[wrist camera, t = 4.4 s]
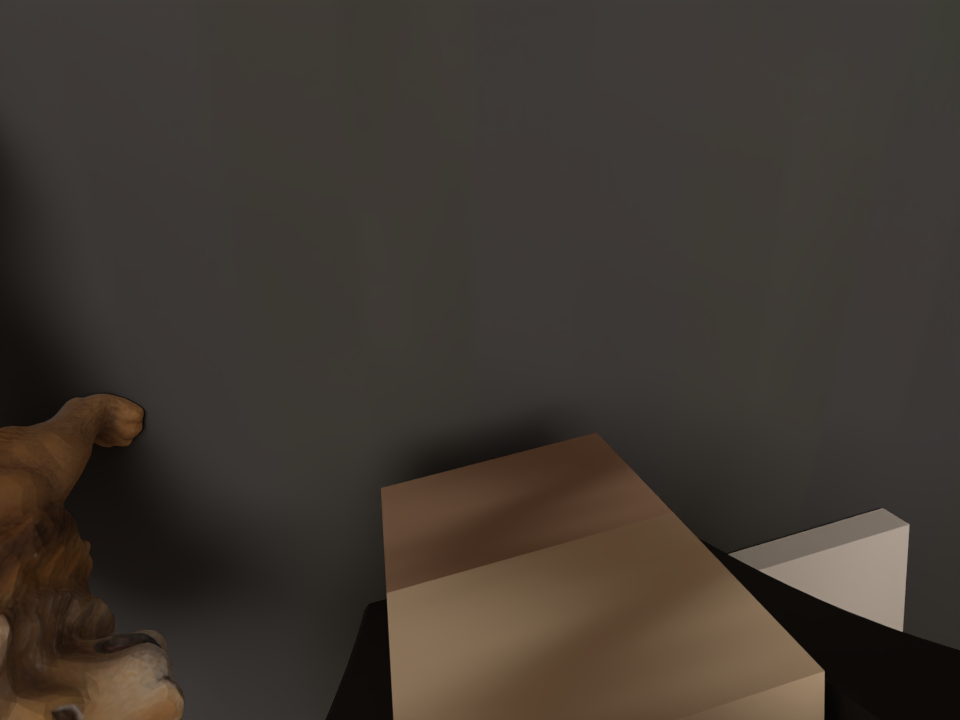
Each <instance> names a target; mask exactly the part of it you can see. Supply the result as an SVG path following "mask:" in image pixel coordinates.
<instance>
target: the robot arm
mask: <svg viewBox="0 0 960 720" xmlns="http://www.w3.org/2000/svg"><path fill="white" fill-rule="evenodd" d="M698 539H699V538H698ZM699 540H700V541H701V542H702V543H703V544H704V545H705V546H706V547H707V548H708V550H709V551H710V552H711V553H712V554H713V555H714V556H715V557H716V558H717V559H718V560H719V561H720V562H721V563H722V564H723V565H724V566H725V567H726V568H727V569H728V570H729V571H730V573H731V574H732V575H733V576H734V577H735V578H736V579H737V580H738V581H739V582H740V583H741V584H742V585H743V586H744V587H745V588H746V589H747V590H748V591H749V592H750V593H751V594H752V596H753V597H754V598H755V599H756V600H757V601H758V602H759V603H760V604H761V605H762V606H763V607H764V608H765V609H766V610H767V611H768V612H769V613H770V614H771V615H772V616H773V618H774V619H775V620H776V621H777V622H778V623H779V624H780V625H781V626H782V627H783V628H784V629H785V630H786V631H787V632H788V633H789V634H790V635H791V636H792V637H793V638H794V639H795V641H796V642H797V643H798V644H799V645H800V646H801V647H802V648H803V649H804V650H805V651H806V652H807V653H808V654H809V655H810V656H811V657H812V658H813V659H814V660H815V661H816V662H817V664H818V665H819V666H820V667H821V668H822V669H823V670H824V671H825V693H824V720H960V650H957V649H953V648H950V647H947V646H944V645H941V644H938V643H934V642H931V641H928V640H925V639H922V638H919V637H916V636H913V635H910V634H907V633H904V632H901V631H898V630H896V629H893V628H890V627H887V626H885V625H882V624H880V623H877V622H874V621H872V620H869V619H867V618H864V617H861V616H859V615H856V614H854V613H851V612H848V611H846V610H843V609H841V608H839V607H836V606H834V605H831V604H829V603H827V602H824V601H822V600H820V599H818V598H816V597H813V596H811V595H809V594H807V593H805V592H802V591H800V590H798V589H796V588H794V587H791V586H789V585H787V584H785V583H783V582H781V581H779V580H777V579H775V578H773V577H771V576H769V575H767V574H765V573H763V572H761V571H759V570H757V569H755V568H753V567H751V566H749V565H747V564H745V563H743V562H741V561H739V560H738V559H736V558H734V557H732V556H730V555H728V554H726V553H725V552H723V551H721V550H719V549H717V548H715V547H714V546H712V545H710V544H708V543H706V542H704V541H703V540H701V539H699ZM326 720H393V703H392V684H391V666H390V647H389V628H388V610H387V599H385V600H381V601H378V602H374V603H371V604H369V605H368V606H367V608H366V609H365V611H364V615H363V618H362V622H361V625H360V629H359V632H358V635H357V638H356V642H355V645H354V648H353V650H352V653H351V656H350V659H349V662H348V665H347V667H346V670H345V673H344V675H343V678H342V680H341V683H340V685H339V688H338V691H337V693H336V696H335V698H334V701H333V703H332V706H331V708H330V710H329V713H328V715H327V717H326Z"/></svg>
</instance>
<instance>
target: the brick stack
mask: <svg viewBox="0 0 960 720" xmlns="http://www.w3.org/2000/svg"><path fill="white" fill-rule="evenodd" d="M381 499H382V517H383V536H384V554H385V573H386V591H387V610H388V628H389V647H390V666H391V684H392V703H393V720H824V693H825V671H824V670H823V669H822V668H821V667H820V666H819V665H818V664H817V662H816V661H815V660H814V659H813V658H812V657H811V656H810V655H809V654H808V653H807V652H806V651H805V650H804V649H803V648H802V647H801V646H800V645H799V644H798V643H797V642H796V641H795V639H794V638H793V637H792V636H791V635H790V634H789V633H788V632H787V631H786V630H785V629H784V628H783V627H782V626H781V625H780V624H779V623H778V622H777V621H776V620H775V619H774V618H773V616H772V615H771V614H770V613H769V612H768V611H767V610H766V609H765V608H764V607H763V606H762V605H761V604H760V603H759V602H758V601H757V600H756V599H755V598H754V597H753V596H752V594H751V593H750V592H749V591H748V590H747V589H746V588H745V587H744V586H743V585H742V584H741V583H740V582H739V581H738V580H737V579H736V578H735V577H734V576H733V575H732V574H731V573H730V571H729V570H728V569H727V568H726V567H725V566H724V565H723V564H722V563H721V562H720V561H719V560H718V559H717V558H716V557H715V556H714V555H713V554H712V553H711V552H710V551H709V550H708V548H707V547H706V546H705V545H704V544H703V543H702V542H701V541H700V540H699V539H698V538H697V537H696V536H695V535H694V534H693V533H692V532H691V531H690V530H689V529H688V528H687V527H686V525H685V524H684V523H683V522H682V521H681V520H680V519H679V518H678V517H677V516H676V515H675V514H674V513H673V512H672V511H671V510H670V509H669V508H668V507H667V506H666V505H665V504H664V502H663V501H662V500H661V499H660V498H659V497H658V496H657V495H656V494H655V493H654V492H653V491H652V490H651V489H650V488H649V487H648V486H647V485H646V484H645V483H644V482H643V481H642V479H641V478H640V477H639V476H638V475H637V474H636V473H635V472H634V471H633V470H632V469H631V468H630V467H629V466H628V465H627V464H626V463H625V462H624V461H623V460H622V459H621V458H620V456H619V455H618V454H617V453H616V452H615V451H614V450H613V449H612V448H611V447H610V446H609V445H608V444H607V443H606V442H605V441H604V440H603V439H602V438H601V437H600V436H599V435H598V433H597V432H596V433H593V434H589V435H585V436H581V437H577V438H573V439H569V440H565V441H562V442H558V443H554V444H550V445H546V446H542V447H538V448H534V449H531V450H527V451H523V452H519V453H515V454H511V455H507V456H503V457H500V458H496V459H492V460H488V461H484V462H480V463H476V464H473V465H469V466H465V467H461V468H457V469H453V470H449V471H445V472H442V473H438V474H434V475H430V476H426V477H422V478H418V479H414V480H411V481H407V482H403V483H399V484H395V485H391V486H387V487H384V488H381Z"/></svg>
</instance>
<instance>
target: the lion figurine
mask: <svg viewBox="0 0 960 720" xmlns="http://www.w3.org/2000/svg"><path fill="white" fill-rule="evenodd" d="M143 416H144V411H143V408H141V407H140V406H138V405H137V404H135V403H133V402H131V401H129V400H127V399H125V398H122V397H118V396H114V395H111V394H95V395H91V396H88V397H85V398H80V397H75V398H72V399H70V400H69V401H67V402H66V403H65V404H64V406H63V407H62V408H61V409H60V410H59V411H58V413H57V414H56V415H55V416H54V417H53V418H51V419H49V420H48V421H45V422H42V423H38V424H35V425H32V426H8V427H3V428H0V720H182V715H183V709H184V697H183V692H182V690H181V688H180V687H179V686H178V685H177V683H176V682H174V680H173V671H172V664H171V661H170V659H169V657H168V650H167V645H166V642H165V639H164V637H163V636H162V635H161V634H160V633H158V632H156V631H154V630H141V631H137V632H134V633H130V634H119V635H115V620H114V615H113V614H112V613H111V611H110V610H109V608H108V605H107V604H105V603H104V602H103V601H102V600H101V599H100V598H97V597H94V596H91V593H90V591H89V588H88V580H89V575H90V573H91V570H92V567H93V562H92V558H91V556H90V555H89V552H90V546H91V545H90V543H89V542H88V541H85V540H83V539H81V538H80V536H79V532H78V529H77V526H76V522H75V519H74V518H73V517H72V516H71V515H70V513H69V512H68V511H67V510H66V509H65V507H64V501H65V500H66V498H67V496H68V495H69V493H70V492H71V490H72V489H73V487H74V485H75V484H76V482H77V481H78V479H79V477H80V476H81V474H82V472H83V470H84V468H85V466H86V464H87V462H88V460H89V458H90V456H91V452H92V446H93V443H94V442H95V443H96V444H98V445H100V446H104V447H111V446H114V445H116V446H128V445H129V444H130V443H131V442H132V440H133V438H134V437H135V436H136V435H138V434H139V433H140V432H141V430H142V420H143Z"/></svg>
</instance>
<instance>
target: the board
mask: <svg viewBox="0 0 960 720" xmlns="http://www.w3.org/2000/svg"><path fill="white" fill-rule="evenodd" d="M908 539H909V524H908V523H906V522H905V521H903V520H901V519H900V518H898V517H896V516H895V515H893V514H891V513H890V512H888V511H887V510H885V509H883V508H881V509H878V510H874V511H871V512H867V513H864V514H861V515H857V516H854V517H851V518H847V519H844V520H841V521H837V522H834V523H831V524H827V525H824V526H821V527H817V528H814V529H810V530H807V531H804V532H800V533H797V534H794V535H790V536H787V537H784V538H780V539H777V540H774V541H770V542H767V543H764V544H760V545H757V546H753V547H750V548H747V549H743V550H740V551H737V552H733V553H730V554H728V555H730V556H732V557H734V558H736V559H738V560H739V561H741V562H743V563H745V564H747V565H749V566H751V567H753V568H755V569H757V570H759V571H761V572H763V573H765V574H767V575H769V576H771V577H773V578H775V579H777V580H779V581H781V582H783V583H785V584H787V585H789V586H791V587H794V588H796V589H798V590H800V591H802V592H805V593H807V594H809V595H811V596H813V597H816V598H818V599H820V600H822V601H824V602H827V603H829V604H831V605H834V606H836V607H839V608H841V609H843V610H846V611H848V612H851V613H854V614H856V615H859V616H861V617H864V618H867V619H869V620H872V621H874V622H877V623H880V624H882V625H885V626H887V627H890V628H893V629H896V630H898V631H901V632H903V619H904V603H905V587H906V571H907V555H908Z"/></svg>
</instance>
